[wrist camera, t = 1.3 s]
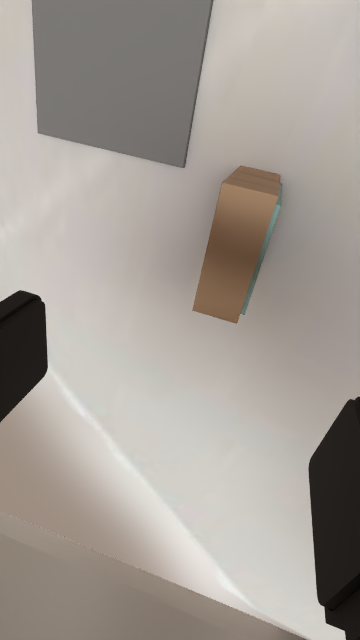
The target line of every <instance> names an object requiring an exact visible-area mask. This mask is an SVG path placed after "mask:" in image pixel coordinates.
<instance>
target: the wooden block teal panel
mask: <svg viewBox="0 0 360 640" xmlns="http://www.w3.org/2000/svg"><path fill="white" fill-rule="evenodd" d="M281 195H282V184H281V183H280V175H279V174H275V173H270V172H266V171H262V170H257V169H253V168H249V167H245V166H240V167H239V168H238V169H237V170H236V171H234V172H233V173H232V174H231V175H230V176H229V177H228V178H227V179H226V180H225V181H223V182H222V185H221V190H220V194H219V198H218V203H217V207H216V211H215V216H214V220H213V224H212V228H211V233H210V237H209V241H208V246H207V250H206V254H205V258H204V263H203V267H202V271H201V276H200V280H199V284H198V289H197V293H196V297H195V301H194V306H193V311H196V312H199V313H203V314H206V315H209V316H213V317H216V318H219V319H223V320H226V321H230V322H233V323H236V324H237V322H238V319H239V316H240V314H243V315H245V312H246V309H247V306H248V303H249V300H250V297H251V294H252V291H253V288H254V285H255V282H256V279H257V276H258V273H259V270H260V267H261V264H262V261H263V258H264V255H265V252H266V249H267V246H268V243H269V240H270V237H271V234H272V231H273V228H274V225H275V222H276V219H277V216H278V213H279V210H280V207H281Z"/></svg>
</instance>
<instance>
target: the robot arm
mask: <svg viewBox="0 0 360 640" xmlns="http://www.w3.org/2000/svg"><path fill="white" fill-rule="evenodd" d="M47 368H48V361H47V338H46V315H45V304H44V302H42V301H41V298H40V296H38V295H35V294H32V293H29V292H26V291H21V290H20V291H17V292H16V293H14V294H12V295H11V296H9V297H8V298H6V299H4V300H3V301H1V302H0V422H1V421H2V420H3V419H4V418H5V417H6V416H7V415H8V414H9V413H10V411H11V410H12V409H13V408H14V407H15V406H16V405H17V404H18V403H19V402H20V401H21V400H22V399H23V398H24V397H25V396H26V395H27V394H28V393H29V392H30V391H31V389H33V388H34V387H35V385H36V384H37V383H38V382H39V381H40V380H41V379H42V378H43V377H44V376H45V374H46V372H47ZM309 483H310V498H311V512H312V527H313V542H314V556H315V571H316V585H317V597H318V601H319V603H320V605H322V606H324V607H325V619H326V623H327V624H329V625H332V626H334V627H337V628H339V629H342V630H344V631H345V635H346V640H360V397H357V398H356V399H355V400H352V399H350V400H348V401H347V403H346V404H345V406H344V407H343V409H342V410H341V412H340V413H339V415H338V417H337V418H336V420H335V421H334V423H333V424H332V426H331V427H330V429H329V431H328V432H327V434H326V435H325V437H324V438H323V440H322V441H321V443H320V445H319V446H318V448H317V449H316V451H315V452H314V454H313V455H312V457H311V459H310V463H309ZM0 640H306V639H304V638H302V637H299V636H297V635H295V634H293V633H290V632H288V631H286V630H283V629H281V628H279V627H277V626H274V625H272V624H270V623H267V622H265V621H263V620H261V619H258V618H256V617H254V616H251V615H249V614H246V613H244V612H242V611H239V610H237V609H234V608H232V607H230V606H227V605H225V604H223V603H220V602H218V601H216V600H213V599H211V598H208V597H206V596H204V595H201V594H199V593H196V592H194V591H192V590H189V589H187V588H185V587H182V586H180V585H177V584H175V583H173V582H170V581H168V580H165V579H163V578H161V577H158V576H156V575H154V574H151V573H148V572H146V571H144V570H141V569H139V568H136V567H134V566H132V565H129V564H127V563H124V562H122V561H120V560H117V559H115V558H113V557H110V556H108V555H105V554H103V553H101V552H98V551H96V550H93V549H91V548H88V547H86V546H84V545H81V544H79V543H76V542H74V541H72V540H69V539H66V538H64V537H62V536H59V535H57V534H55V533H52V532H50V531H47V530H45V529H42V528H40V527H38V526H35V525H33V524H30V523H28V522H26V521H23V520H21V519H18V518H16V517H13V516H11V515H8V514H6V513H3V512H1V511H0Z"/></svg>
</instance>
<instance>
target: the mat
mask: <svg viewBox="0 0 360 640" xmlns="http://www.w3.org/2000/svg"><path fill="white" fill-rule="evenodd" d="M212 4H213V0H32V15H33V37H34V59H35V81H36V103H37V125H38V133H40V134H44V135H48V136H52V137H56V138H60V139H65V140H69V141H73V142H77V143H81V144H85V145H90V146H94V147H98V148H102V149H106V150H111V151H115V152H119V153H123V154H127V155H131V156H136V157H140V158H144V159H148V160H152V161H157V162H161V163H165V164H169V165H173V166H177V167H182V168H184V167H185V162H186V156H187V150H188V144H189V138H190V132H191V126H192V121H193V115H194V109H195V103H196V97H197V91H198V86H199V80H200V74H201V68H202V62H203V56H204V51H205V45H206V39H207V33H208V27H209V21H210V15H211V10H212Z"/></svg>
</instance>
